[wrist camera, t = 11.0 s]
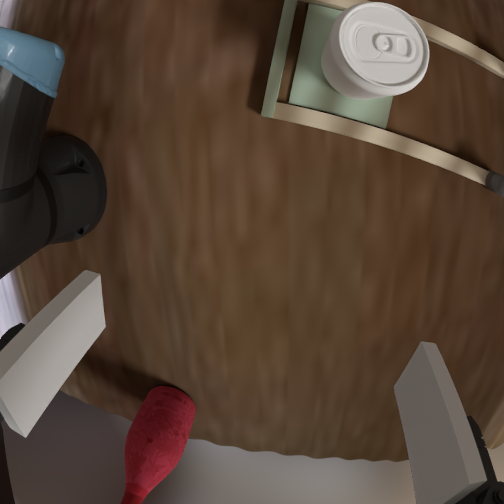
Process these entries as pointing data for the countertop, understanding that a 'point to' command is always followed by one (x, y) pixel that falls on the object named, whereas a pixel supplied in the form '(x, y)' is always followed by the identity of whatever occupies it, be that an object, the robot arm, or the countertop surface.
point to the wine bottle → (156, 440)
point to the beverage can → (374, 52)
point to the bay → (369, 111)
